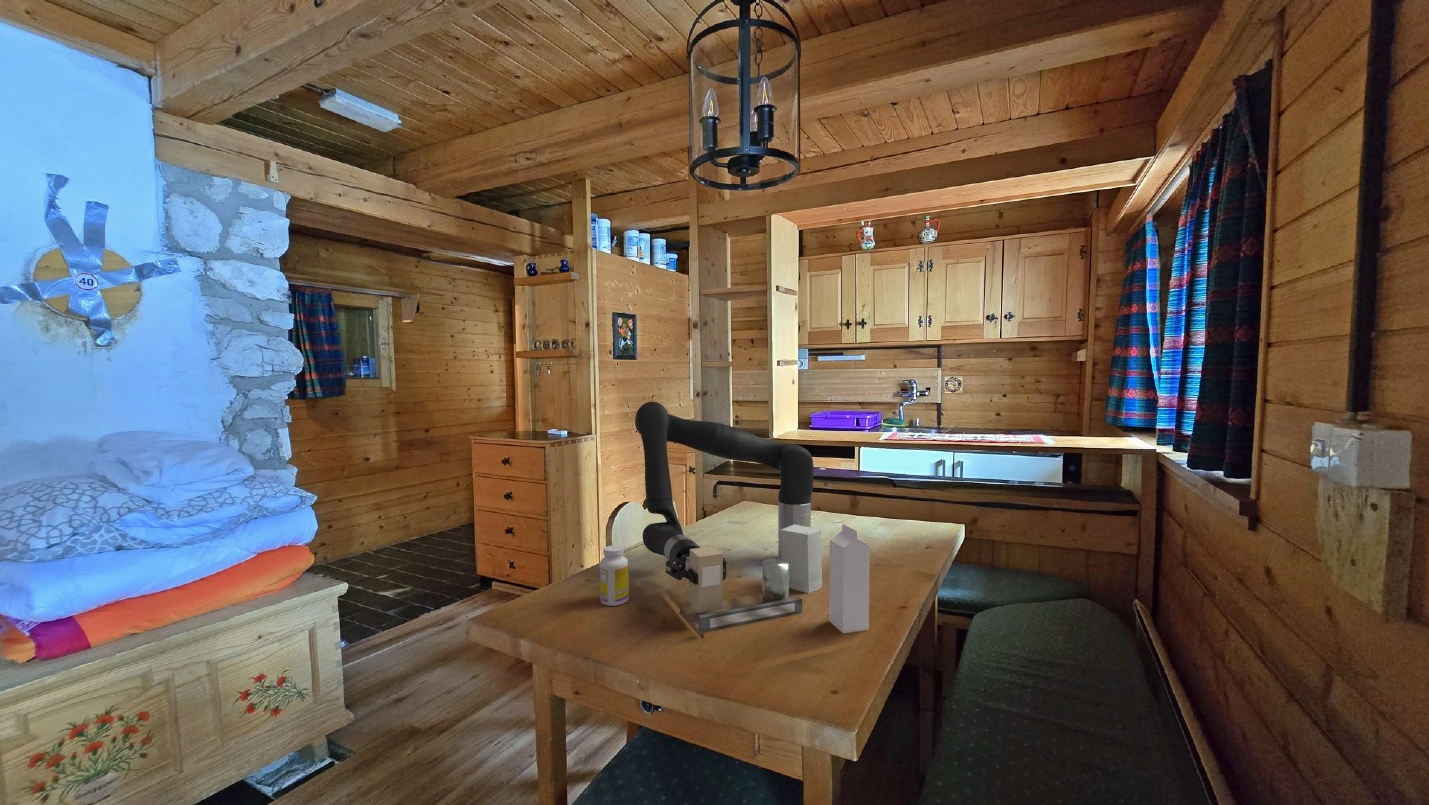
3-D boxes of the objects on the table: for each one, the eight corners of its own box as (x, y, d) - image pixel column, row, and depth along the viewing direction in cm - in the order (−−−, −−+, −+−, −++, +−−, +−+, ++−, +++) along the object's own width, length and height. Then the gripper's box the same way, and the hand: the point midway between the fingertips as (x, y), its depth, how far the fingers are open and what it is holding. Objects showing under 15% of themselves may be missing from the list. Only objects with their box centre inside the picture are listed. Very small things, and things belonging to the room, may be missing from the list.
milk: (843, 639, 116) (843, 532, 114) (828, 626, 121) (828, 524, 120) (869, 635, 117) (870, 529, 116) (854, 622, 123) (854, 522, 122)
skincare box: (822, 591, 141) (823, 529, 140) (807, 599, 136) (808, 534, 135) (794, 582, 146) (795, 523, 146) (779, 590, 142) (779, 528, 141)
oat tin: (778, 599, 133) (778, 557, 132) (794, 608, 128) (794, 564, 127) (756, 604, 130) (757, 560, 130) (772, 613, 125) (772, 568, 124)
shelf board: (773, 596, 138) (773, 579, 137) (802, 618, 126) (802, 599, 125) (679, 613, 128) (679, 594, 128) (701, 638, 116) (701, 618, 116)
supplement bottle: (631, 596, 138) (631, 544, 137) (624, 607, 132) (624, 552, 131) (604, 595, 139) (604, 543, 138) (596, 606, 132) (595, 552, 132)
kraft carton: (712, 599, 127) (712, 546, 127) (722, 608, 122) (723, 553, 121) (689, 602, 125) (689, 549, 125) (698, 613, 120) (699, 557, 119)
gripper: (654, 542, 134) (678, 565, 118) (711, 535, 139) (741, 556, 124) (654, 573, 134) (678, 600, 118) (711, 565, 140) (741, 590, 124)
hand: (710, 578), depth 121 cm, fingers closed on kraft carton, 5 cm apart
